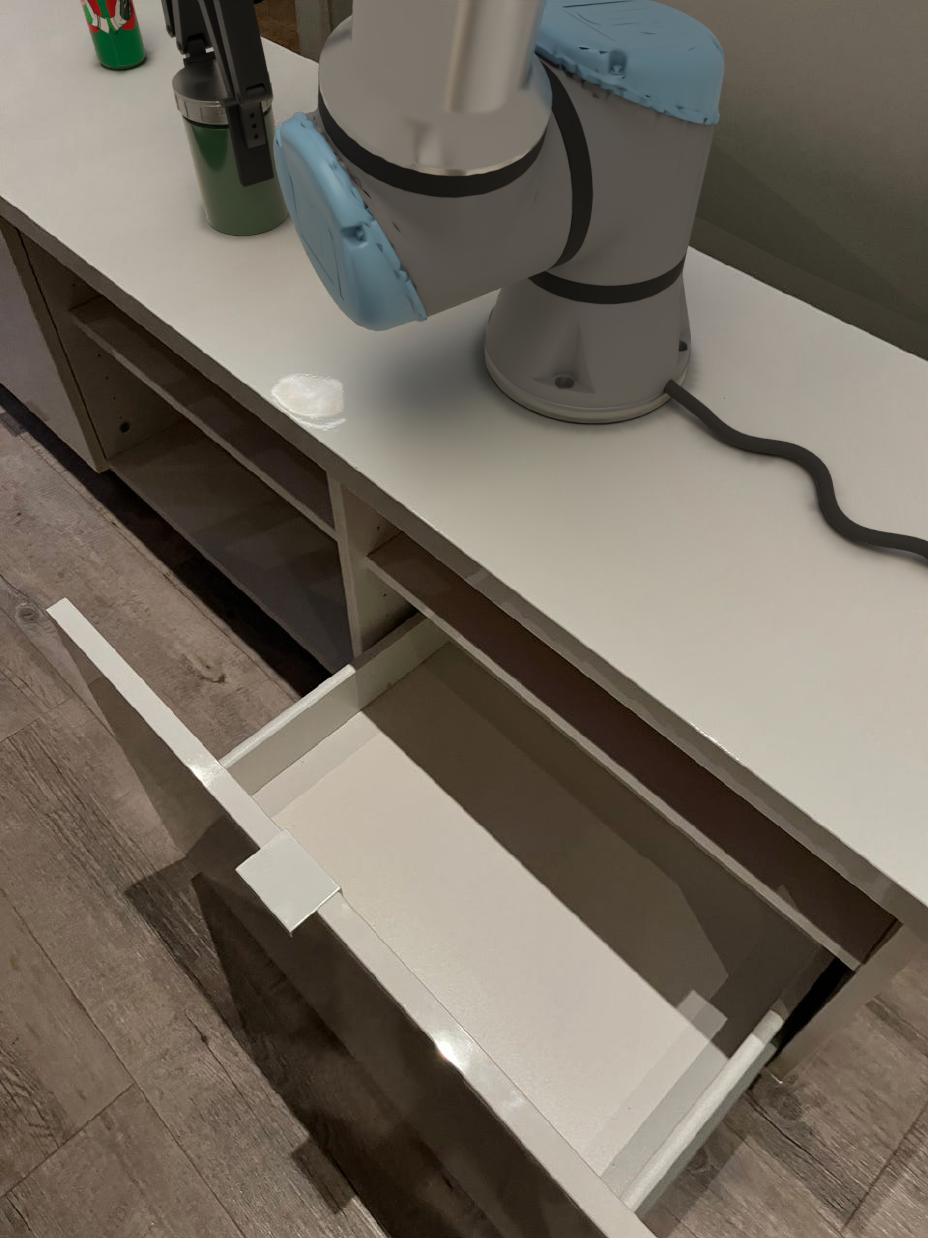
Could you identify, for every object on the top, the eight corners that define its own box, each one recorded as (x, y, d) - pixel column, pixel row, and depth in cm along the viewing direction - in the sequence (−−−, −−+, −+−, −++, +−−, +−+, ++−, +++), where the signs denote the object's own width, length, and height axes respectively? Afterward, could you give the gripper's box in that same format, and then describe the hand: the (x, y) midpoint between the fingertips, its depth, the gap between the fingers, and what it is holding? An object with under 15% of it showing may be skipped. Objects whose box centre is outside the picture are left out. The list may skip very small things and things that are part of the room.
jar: (300, 223, 80) (280, 97, 72) (220, 243, 78) (190, 117, 70) (273, 183, 84) (252, 59, 76) (196, 202, 82) (165, 77, 74)
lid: (160, 96, 74) (154, 74, 73) (243, 70, 77) (239, 48, 75) (205, 134, 71) (200, 111, 69) (291, 105, 73) (287, 82, 72)
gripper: (58, -225, 63) (150, 119, 81) (169, -143, 53) (245, 229, 71) (162, -241, 65) (229, 98, 84) (288, -164, 55) (332, 201, 74)
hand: (236, 158), depth 77 cm, fingers closed on lid, 7 cm apart
